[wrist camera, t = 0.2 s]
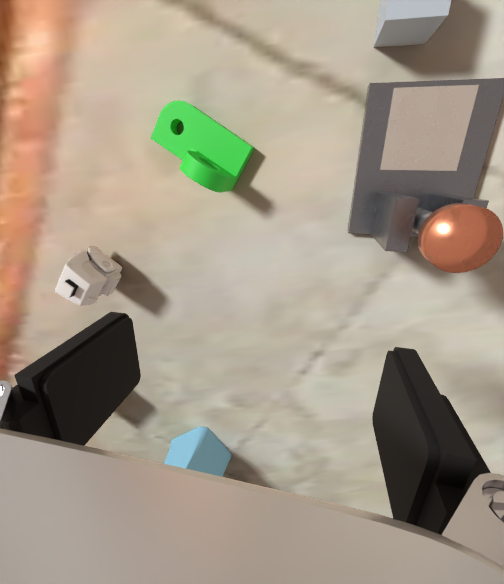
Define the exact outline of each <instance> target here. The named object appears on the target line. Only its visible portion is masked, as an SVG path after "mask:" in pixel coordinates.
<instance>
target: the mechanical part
mask: <svg viewBox="0 0 504 584" xmlns="http://www.w3.org/2000/svg"><path fill="white" fill-rule="evenodd" d="M181 121H182V123H183V125H184V130H183V132H182V134H180V135H179V134H178V132H177V125H178V123H179V122H181ZM151 139H152V140H154V141H155V142H157V143H158V144H160V145H161V146H163V147H164V148H166V149H167V150H168V151H170V152H171V153H173V154H174V155H176V156H177V157H179V158H180V159H182V160H183V161H182V164H181V166H180V169H181V171H182V172H183V173H184V174H185V175H187V176H188V177H189V178H191V179H192V180H194V181H195V182H197V183H198V184H200V185H202V186H204V187H206V188H208V189H210V190H212V191H215V192H225V191H231V190H232V189H233V188H234V186H235V184H236V182H237V180H238V178H239V176H240V175H241V173H242V171H243V169H244V167H245V165H246V164H247V162H248V160H249V158H250V156H251V154H252V153H253V151H254V149H255V148H254V147H252V146H251V145H249V144H248V143H247V142H245V141H244V140H242V139H241V138H239V137H238V136H236V135H235V134H233V133H232V132H231V131H229V130H228V129H226V128H225V127H223V126H222V125H220V124H219V123H217V122H216V121H214V120H213V119H212V118H210V117H209V116H207V115H206V114H204V113H203V112H201V111H200V110H198V109H197V108H196V107H194V106H192V105H190V104H188V103H186V102H184V101H173V102H171V103H169V104H167V105H166V106H165V107H164V108H163V109H162V111H161V113H160V115H159V118H158V120H157V123H156V126H155V128H154V131H153V134H152V136H151Z"/></svg>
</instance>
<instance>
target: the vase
mask: <svg viewBox="0 0 504 584" xmlns="http://www.w3.org/2000/svg"><path fill="white" fill-rule="evenodd" d="M231 457H232V455H231V453H230V452H229V450H228V449H227V448H226V447H225V446H224V445H223V444H222V443H221V442H220V440H219V439H218V438H217V437H216V436H215V435H214V434H213V433H212V432H211V430H210V429H208V428H206V427H198V428H196V429H194V430H191V431H189V432H187V433H185V434H183V435H181V436H179V437H176V438H174V439H172V441H171V445H170V449H169V452H168V455H167V458H166V460H165V462H164V464H168V465H172V466H177V467H181V468H185V469H190V470H194V471H199V472H203V473H207V474H212V475H216V476H221V477H223V475H224V472H225V469H226V467H227V465H228V463H229V461H230V459H231Z"/></svg>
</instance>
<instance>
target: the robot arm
mask: <svg viewBox="0 0 504 584" xmlns="http://www.w3.org/2000/svg"><path fill="white" fill-rule="evenodd" d="M15 378H16V381H17V384H18V385H16V386H15V387H13V388H12V386H11V384H10V383H9V382H6V381H0V584H504V476H503V475H500V474H493V473H491V472H490V471H489V469H488V467H487V465H486V464H485V462H484V460H483V458H482V457H481V455H480V453H479V452H478V450H477V448H476V446H475V445H474V443H473V441H472V439H471V438H470V436H469V434H468V433H467V431H466V429H465V427H464V426H463V424H462V422H461V420H460V419H459V417H458V415H457V414H456V412H455V410H454V408H453V407H452V405H451V403H450V401H449V400H448V399H447V397H446V396H444V395H441V394H440V393H439V391H438V389H437V387H436V386H435V384H434V382H433V380H432V378H431V377H430V375H429V373H428V371H427V369H426V368H425V366H424V364H423V362H422V361H421V359H420V357H419V355H418V353H417V352H416V350H414V349H407V348H399V347H395V348H394V350H393V351H388V352H387V355H386V360H385V364H384V368H383V373H382V377H381V381H380V385H379V390H378V394H377V398H376V403H375V407H374V411H373V427H374V432H375V436H376V441H377V445H378V450H379V455H380V459H381V464H382V468H383V473H384V478H385V482H386V487H387V491H388V496H389V500H390V505H391V510H392V514H393V519H392V518H389V517H385V516H382V515H379V514H375V513H371V512H367V511H363V510H359V509H355V508H351V507H347V506H343V505H339V504H335V503H331V502H327V501H323V500H319V499H315V498H311V497H307V496H302V495H298V494H294V493H290V492H285V491H281V490H277V489H272V488H268V487H264V486H259V485H255V484H251V483H246V482H242V481H238V480H234V479H229V478H225V477H221V476H216V475H212V474H207V473H203V472H199V471H194V470H190V469H185V468H181V467H177V466H172V465H168V464H163V463H159V462H154V461H150V460H146V459H141V458H137V457H132V456H128V455H123V454H119V453H114V452H110V451H105V450H101V449H96V448H91V447H87V446H84V445H85V444H86V443H87V442H88V441H89V440H90V438H91V437H92V436H93V435H94V434H95V433H96V432H97V430H98V429H99V428H100V427H101V426H102V425H103V423H104V422H105V421H106V420H107V419H108V418H109V417H110V415H111V414H112V413H113V412H114V411H115V410H116V408H117V407H118V406H119V405H120V404H121V403H122V402H123V400H124V399H125V398H126V397H127V396H128V395H129V393H130V392H131V391H132V390H133V389H134V388H135V387H136V385H137V384H138V383H139V381H140V368H139V361H138V355H137V348H136V342H135V335H134V329H133V322H132V319H131V318H129V316H128V315H127V314H125V313H117V312H110V313H108V314H107V315H105V316H104V317H102V318H101V319H99V320H98V321H96V322H95V323H93V324H92V325H90V326H89V327H87V328H85V329H84V330H82V331H81V332H79V333H78V334H76V335H75V336H73V337H72V338H70V339H69V340H67V341H66V342H64V343H63V344H61V345H60V346H58V347H57V348H55V349H53V350H52V351H50V352H49V353H47V354H46V355H44V356H43V357H41V358H40V359H38V360H37V361H35V362H34V363H32V364H31V365H29V366H28V367H26V368H24V369H23V370H21V371H20V372H18V373H17V374H15Z"/></svg>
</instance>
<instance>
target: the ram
mask: <svg viewBox="0 0 504 584" xmlns="http://www.w3.org/2000/svg"><path fill="white" fill-rule="evenodd" d="M412 231H413V232H415V233H417V234H418V237H417V243H418V248H419V250H420V252H421V254H422V255H423V256H424V257H425V258H426V259H427V260H428V261H430V262H431V263H432V264H433V265H435V266H436V267H437V268H439V269H441V270H443V271H447V272H452V273H461V272H467V271H471V270H474V269H476V268H478V267H480V266H482V265H483V264H485V263H486V262H488V261H489V260H490V259H491V258H492V257H493V256H494V255H495V253H496V252H497V250H498V249H499V247H500V245H501V242H502V238H503V228H502V224H501V221H500V220H499V218H498V217H497V216H496V215H495V214H494V213H493V212H492V211H490V210H488V209H486V208H484V207H479V206H475V205H470V204H464V203H455V204H449V205H446V206H443V207H441V208H439V209H437V210H436V211H434V212H431V211H428V210H425V209H422V208H418V207H417V210H416V215H415V219H414V224H413V228H412Z"/></svg>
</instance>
